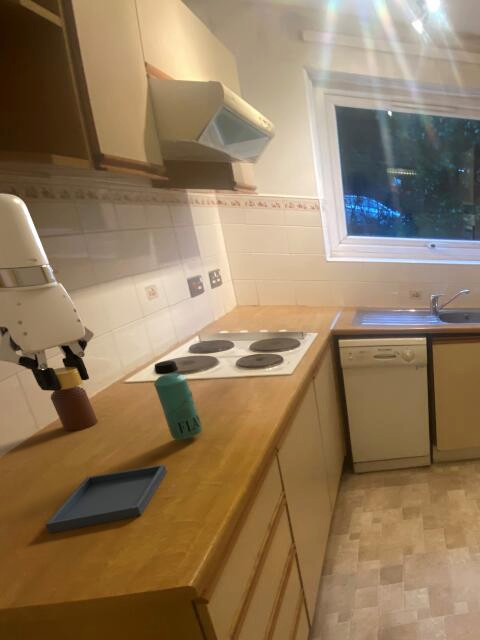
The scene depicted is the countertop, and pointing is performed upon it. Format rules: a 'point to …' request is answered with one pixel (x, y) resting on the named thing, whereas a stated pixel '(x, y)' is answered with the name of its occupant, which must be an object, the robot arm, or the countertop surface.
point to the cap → (68, 377)
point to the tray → (108, 498)
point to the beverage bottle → (177, 401)
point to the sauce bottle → (74, 408)
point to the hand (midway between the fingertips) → (66, 383)
